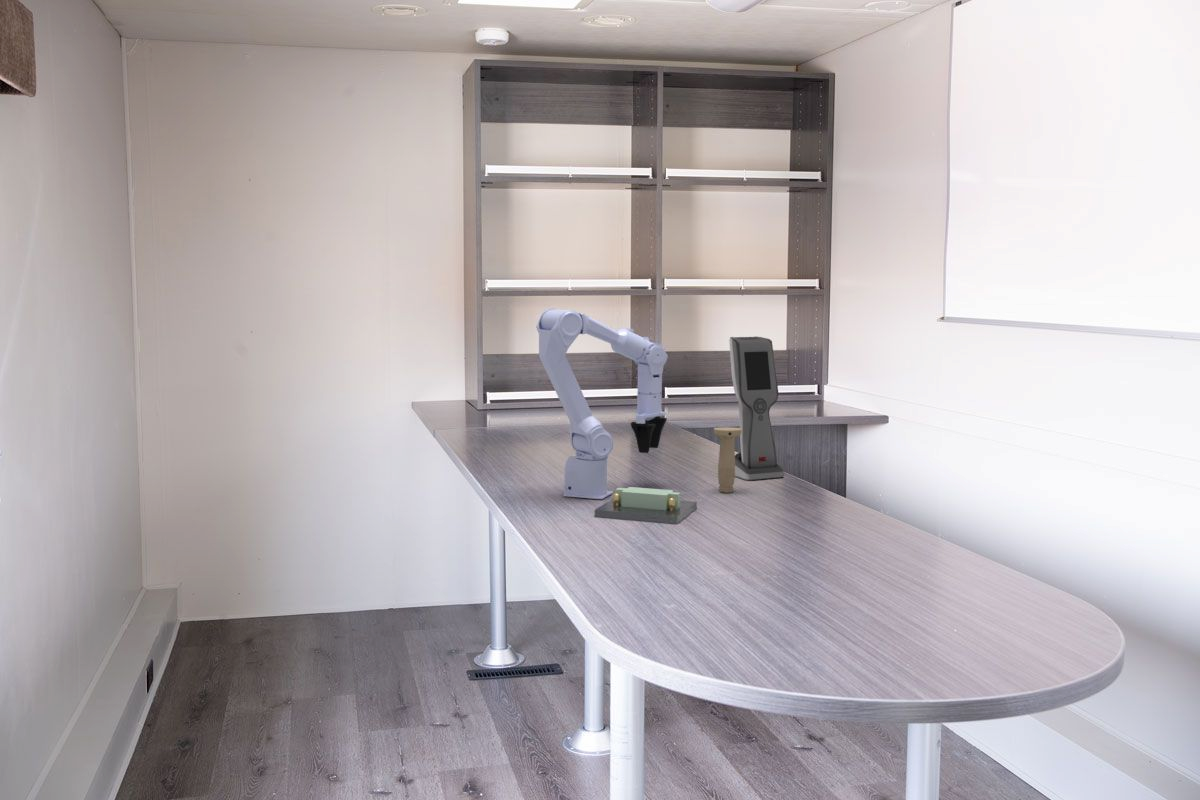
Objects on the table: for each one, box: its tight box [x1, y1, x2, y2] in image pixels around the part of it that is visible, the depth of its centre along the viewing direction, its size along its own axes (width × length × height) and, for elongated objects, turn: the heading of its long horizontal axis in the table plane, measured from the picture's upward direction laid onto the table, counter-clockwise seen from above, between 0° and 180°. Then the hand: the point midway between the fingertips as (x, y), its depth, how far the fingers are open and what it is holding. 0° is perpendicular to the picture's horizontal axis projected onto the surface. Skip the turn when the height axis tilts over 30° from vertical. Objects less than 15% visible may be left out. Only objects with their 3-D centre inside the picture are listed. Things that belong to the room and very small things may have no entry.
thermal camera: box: [728, 336, 785, 481], centre depth 278 cm, size 12×13×35 cm
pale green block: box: [614, 486, 681, 510], centre depth 235 cm, size 14×6×3 cm, turn 71°
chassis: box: [594, 492, 698, 525], centre depth 236 cm, size 18×16×4 cm
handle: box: [713, 426, 741, 494], centre depth 258 cm, size 5×6×15 cm
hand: (648, 450), depth 260 cm, fingers open, 7 cm apart
